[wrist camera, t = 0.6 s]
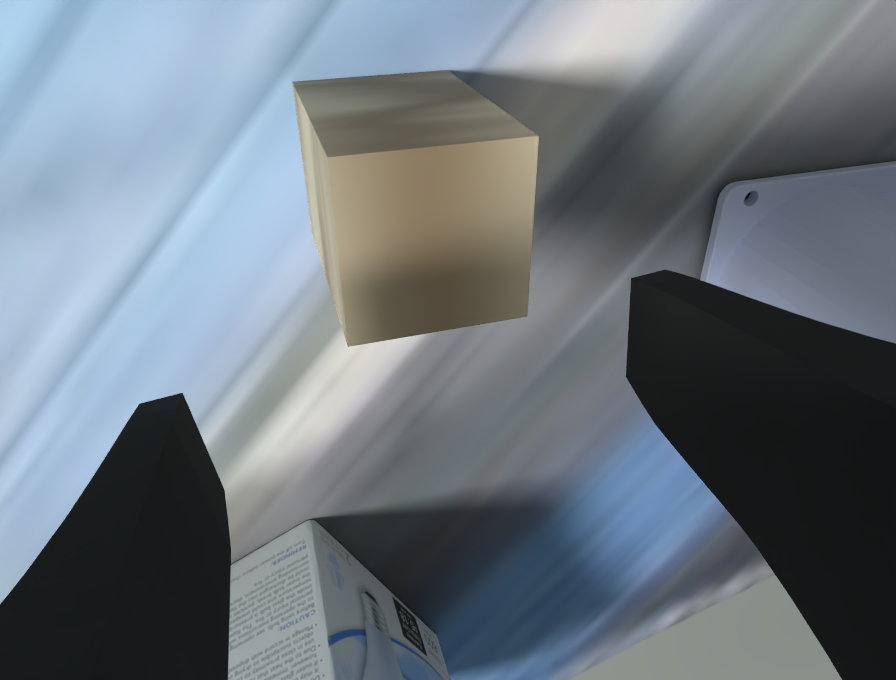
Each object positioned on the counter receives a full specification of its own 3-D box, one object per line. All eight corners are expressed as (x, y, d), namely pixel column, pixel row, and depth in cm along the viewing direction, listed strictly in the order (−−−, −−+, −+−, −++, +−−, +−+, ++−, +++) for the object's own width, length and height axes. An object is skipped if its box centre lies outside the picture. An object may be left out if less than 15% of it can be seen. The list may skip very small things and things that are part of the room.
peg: (448, 69, 18) (538, 135, 13) (449, 214, 20) (527, 316, 15) (292, 81, 17) (327, 157, 12) (311, 231, 19) (347, 346, 14)
